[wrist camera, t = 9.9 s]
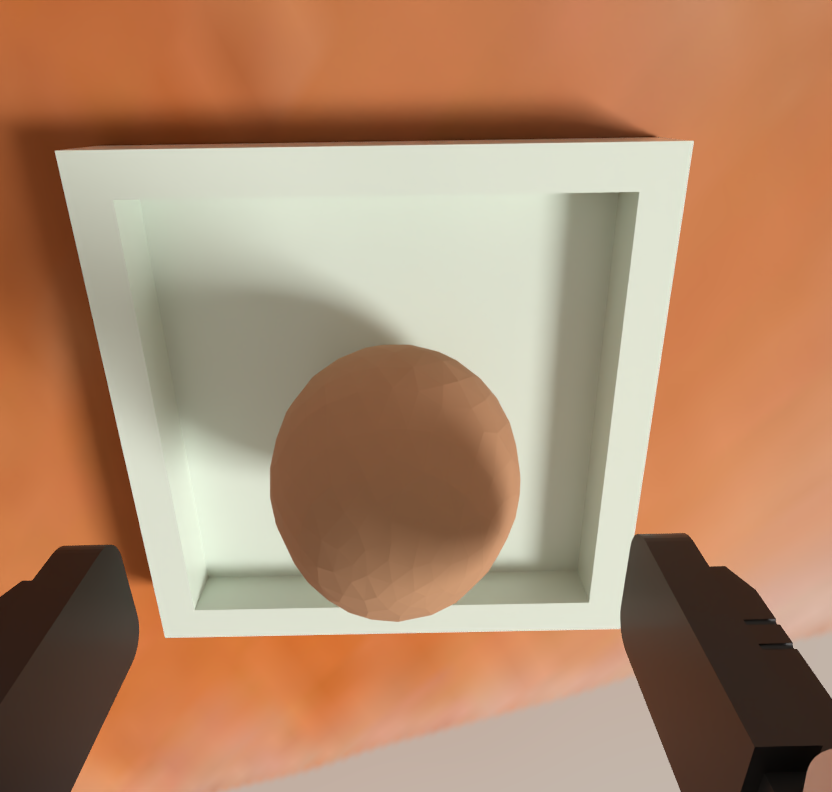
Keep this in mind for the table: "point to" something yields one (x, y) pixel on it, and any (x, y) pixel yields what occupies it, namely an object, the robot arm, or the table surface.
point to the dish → (379, 325)
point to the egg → (394, 481)
